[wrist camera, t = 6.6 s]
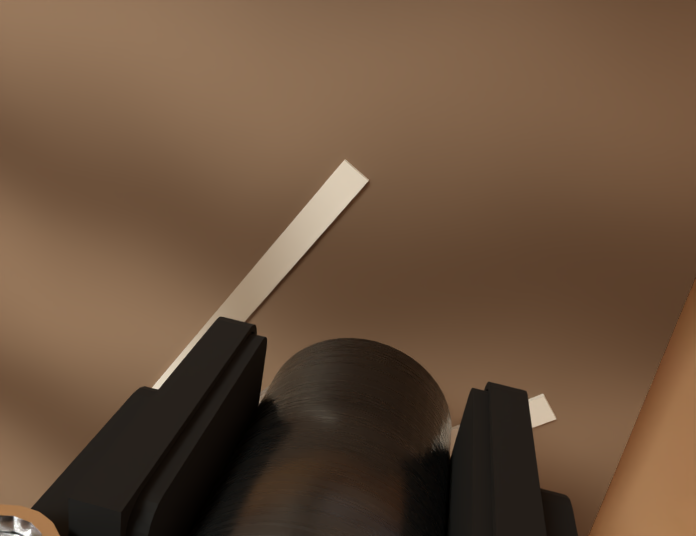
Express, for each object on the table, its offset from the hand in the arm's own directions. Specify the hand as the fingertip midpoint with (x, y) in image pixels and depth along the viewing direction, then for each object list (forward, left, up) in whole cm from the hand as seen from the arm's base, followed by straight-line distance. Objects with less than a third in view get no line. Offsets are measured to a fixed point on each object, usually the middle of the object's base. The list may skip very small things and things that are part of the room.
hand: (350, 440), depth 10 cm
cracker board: (+5, -4, -6) cm, 8 cm away
